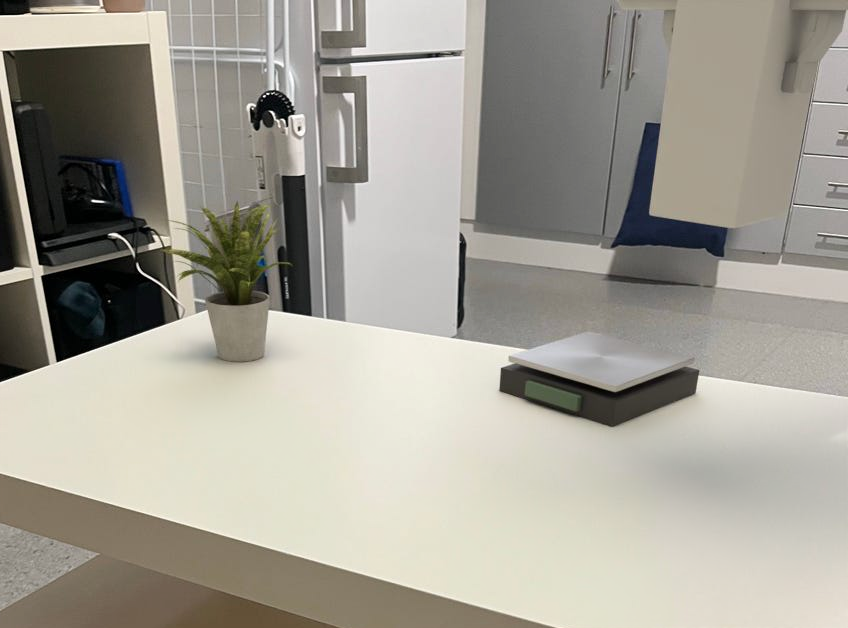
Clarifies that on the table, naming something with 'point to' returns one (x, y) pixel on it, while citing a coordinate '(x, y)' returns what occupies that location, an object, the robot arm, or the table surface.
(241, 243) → the house plant
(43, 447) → the table surface
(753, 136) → the milk carton
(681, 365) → the scale platform
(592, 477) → the table surface
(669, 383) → the scale
